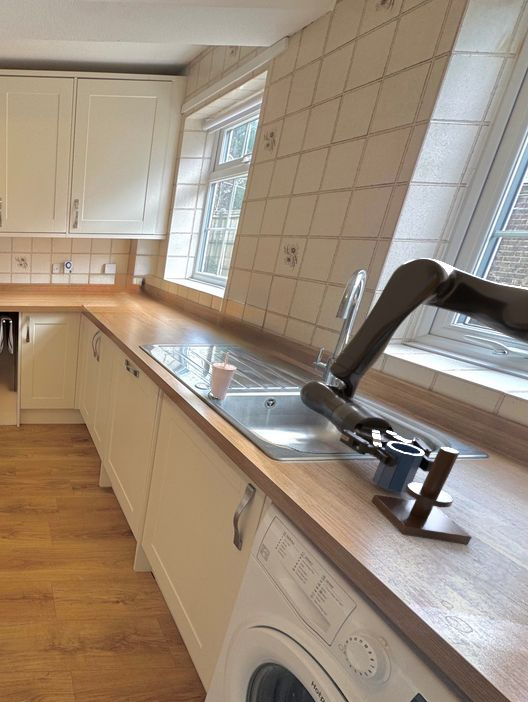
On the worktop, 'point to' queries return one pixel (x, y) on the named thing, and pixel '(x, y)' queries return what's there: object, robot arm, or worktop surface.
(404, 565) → the worktop surface
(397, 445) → the blue hollow faceted cylinder
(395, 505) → the stand
